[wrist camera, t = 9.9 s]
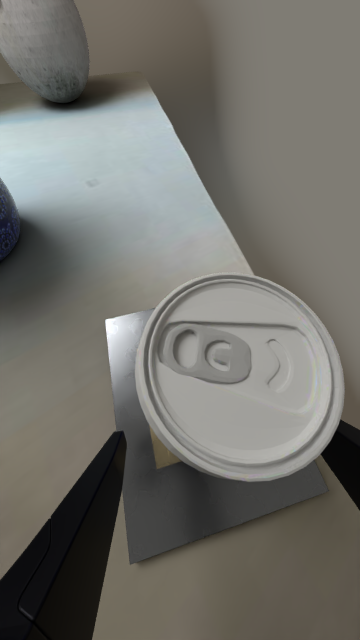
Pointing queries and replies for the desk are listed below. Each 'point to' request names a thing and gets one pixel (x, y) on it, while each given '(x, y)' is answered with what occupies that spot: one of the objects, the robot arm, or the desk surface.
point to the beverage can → (239, 378)
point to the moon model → (45, 46)
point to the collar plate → (180, 470)
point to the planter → (8, 221)
